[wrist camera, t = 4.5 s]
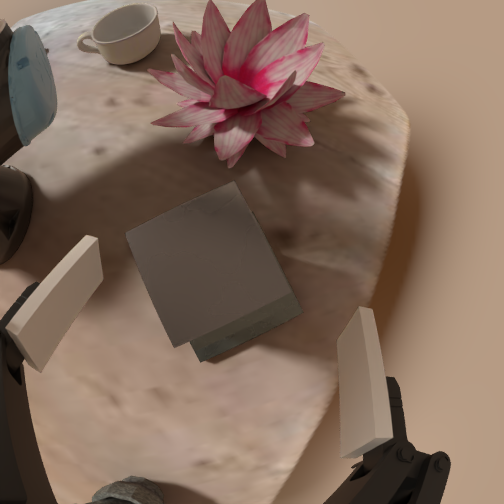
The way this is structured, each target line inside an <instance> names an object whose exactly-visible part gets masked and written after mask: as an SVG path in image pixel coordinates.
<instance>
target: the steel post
mask: <svg viewBox="0 0 504 504" xmlns="http://www.w3.org/2000/svg"><path fill="white" fill-rule="evenodd" d="M125 235H126V238H127V241H128V243H129V246H130V249H131V251H132V254H133V257H134V259H135V262H136V264H137V267H138V269H139V272H140V274H141V277H142V279H143V281H144V284H145V286H146V289H147V291H148V293H149V296H150V298H151V300H152V302H153V305H154V307H155V309H156V311H157V313H158V316H159V318H160V320H161V322H162V324H163V326H164V328H165V331H166V333H167V335H168V337H169V339H170V341H171V343H172V345H173V347H174V348H175V347H178V346H180V345H182V344H185V343H187V342H189V341H191V340H193V339H196V338H198V337H200V336H202V335H204V334H207V333H209V332H211V331H213V330H215V329H217V328H219V327H222V326H224V325H226V324H228V323H230V322H232V321H234V320H236V319H238V318H240V317H243V316H245V315H247V314H249V313H251V312H253V311H255V310H257V309H259V308H261V307H263V306H265V305H267V304H269V303H271V302H273V301H275V300H277V299H279V298H281V297H283V296H285V295H287V294H289V293H291V290H290V288H289V286H288V284H287V282H286V280H285V278H284V276H283V274H282V272H281V270H280V268H279V266H278V264H277V262H276V260H275V258H274V256H273V254H272V252H271V250H270V248H269V246H268V244H267V242H266V240H265V238H264V236H263V234H262V232H261V230H260V228H259V226H258V224H257V222H256V220H255V218H254V217H253V215H252V213H251V211H250V209H249V207H248V205H247V203H246V201H245V199H244V197H243V195H242V193H241V191H240V189H239V187H238V186H237V184H236V182H235V180H234V181H231V182H229V183H227V184H225V185H222V186H220V187H218V188H216V189H213V190H211V191H209V192H207V193H205V194H202V195H200V196H198V197H196V198H194V199H192V200H190V201H187V202H185V203H183V204H181V205H179V206H177V207H175V208H173V209H171V210H169V211H167V212H165V213H163V214H161V215H159V216H157V217H155V218H153V219H151V220H149V221H147V222H145V223H143V224H141V225H139V226H137V227H135V228H133V229H131V230H129V231H127V232H126V233H125Z"/></svg>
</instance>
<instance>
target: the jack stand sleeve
mask: <svg viewBox="0 0 504 504" xmlns="http://www.w3.org/2000/svg"><path fill="white" fill-rule="evenodd" d="M251 213H252V215H253V217H254V218H255V220H256V222H257V224H258V226H259V228H260V230H261V232H262V234H263V236H264V238H265V240H266V242H267V244H268V246H269V248H270V250H271V252H272V254H273V256H274V258H275V260H276V262H277V264H278V266H279V268H280V270H281V272H282V274H283V276H284V278H285V280H286V282H287V284H288V286H289V288H290V290H291V293H289V294H287V295H285V296H283V297H281V298H279V299H277V300H275V301H273V302H271V303H269V304H267V305H265V306H263V307H261V308H259V309H257V310H255V311H253V312H251V313H249V314H247V315H245V316H243V317H240V318H238V319H236V320H234V321H232V322H230V323H228V324H226V325H224V326H222V327H219V328H217V329H215V330H213V331H211V332H209V333H207V334H204V335H202V336H200V337H198V338H196V339H193V340H191V341H189V342H190V344H191V346H192V347H193V349H194V351H195V353H196V355H197V357H198V359H199V361H200V363H201V362H203V361H205V360H207V359H210V358H212V357H214V356H216V355H219V354H221V353H223V352H225V351H227V350H229V349H232V348H234V347H236V346H238V345H240V344H242V343H244V342H246V341H248V340H251V339H253V338H255V337H257V336H259V335H261V334H263V333H265V332H267V331H269V330H271V329H273V328H275V327H277V326H279V325H281V324H283V323H285V322H286V321H288V320H290V319H292V318H294V317H296V316H298V315H300V314H302V313H304V312H303V310H302V308H301V306H300V304H299V302H298V300H297V298H296V296H295V294H294V292H293V290H292V288H291V286H290V284H289V282H288V280H287V278H286V276H285V274H284V272H283V270H282V268H281V266H280V264H279V262H278V260H277V258H276V256H275V254H274V252H273V250H272V248H271V246H270V244H269V242H268V240H267V238H266V237H265V235H264V233H263V231H262V229H261V227H260V225H259V223H258V221H257V219H256V217H255V215H254V213H253V212H251Z"/></svg>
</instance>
